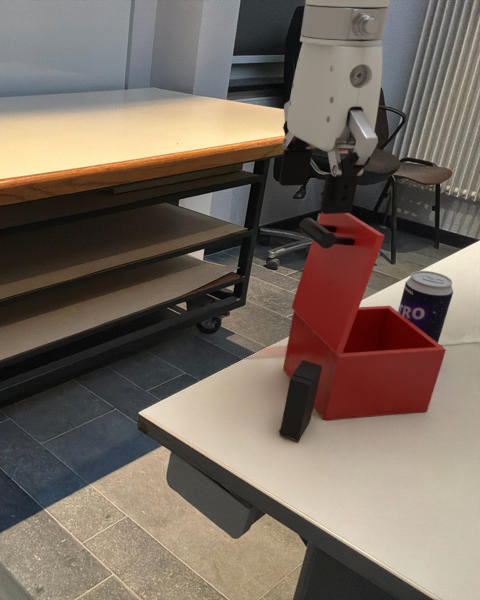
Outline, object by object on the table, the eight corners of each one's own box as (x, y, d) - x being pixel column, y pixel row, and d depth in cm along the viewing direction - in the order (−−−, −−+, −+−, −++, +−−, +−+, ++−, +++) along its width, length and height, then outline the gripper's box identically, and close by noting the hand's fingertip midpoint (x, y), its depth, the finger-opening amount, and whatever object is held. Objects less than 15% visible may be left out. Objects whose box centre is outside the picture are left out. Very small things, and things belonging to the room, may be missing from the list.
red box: (375, 362, 92) (389, 305, 88) (427, 411, 82) (446, 349, 78) (282, 369, 89) (293, 310, 86) (324, 420, 79) (338, 356, 76)
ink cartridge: (291, 415, 80) (302, 357, 77) (310, 421, 79) (323, 363, 76) (277, 436, 76) (289, 376, 73) (297, 443, 75) (310, 383, 72)
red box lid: (330, 201, 80) (292, 197, 79) (385, 235, 70) (341, 231, 68) (296, 307, 86) (260, 305, 84) (342, 353, 75) (302, 351, 74)
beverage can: (390, 343, 96) (410, 266, 91) (434, 354, 94) (457, 275, 89) (384, 360, 92) (405, 280, 87) (429, 372, 90) (453, 291, 84)
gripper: (433, 35, 58) (390, 223, 66) (334, 20, 73) (308, 174, 81) (353, 35, 57) (318, 227, 64) (268, 20, 72) (248, 176, 80)
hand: (312, 197), depth 73 cm, fingers open, 9 cm apart
